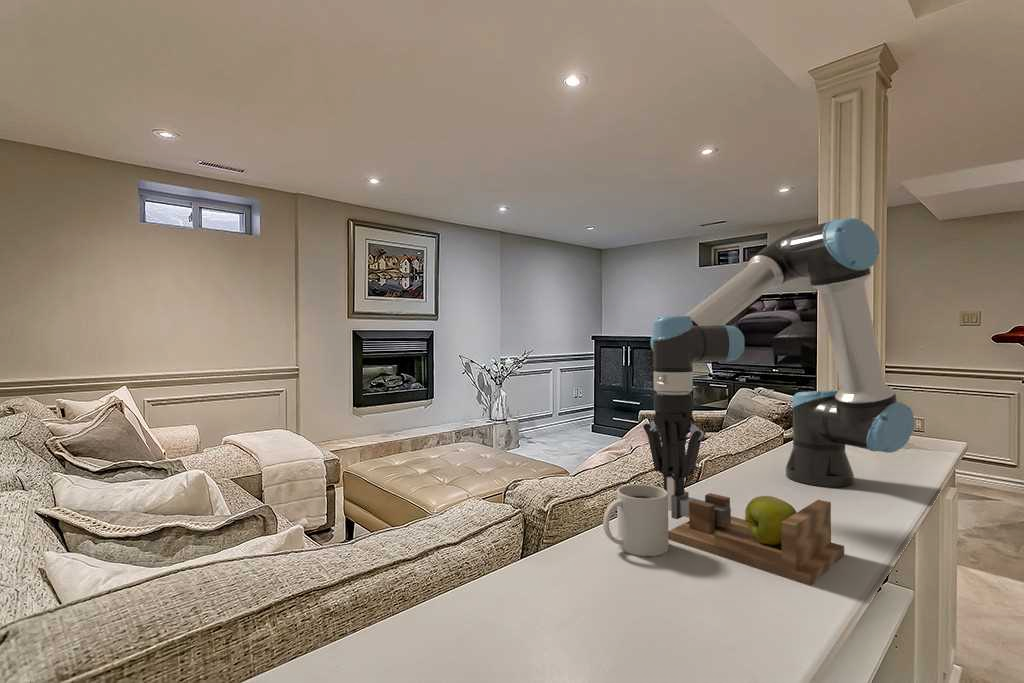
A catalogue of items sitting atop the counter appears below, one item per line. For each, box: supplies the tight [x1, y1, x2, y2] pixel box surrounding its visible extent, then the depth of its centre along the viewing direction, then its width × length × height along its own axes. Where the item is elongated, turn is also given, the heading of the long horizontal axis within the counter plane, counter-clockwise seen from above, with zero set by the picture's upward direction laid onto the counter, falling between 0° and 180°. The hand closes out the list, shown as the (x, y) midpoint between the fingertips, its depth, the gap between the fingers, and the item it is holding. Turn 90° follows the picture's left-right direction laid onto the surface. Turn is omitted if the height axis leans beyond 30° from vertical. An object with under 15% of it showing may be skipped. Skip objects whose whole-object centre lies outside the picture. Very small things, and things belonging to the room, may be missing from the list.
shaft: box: [670, 491, 732, 527], centre depth 98 cm, size 4×10×4 cm, turn 41°
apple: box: [744, 495, 798, 545], centre depth 88 cm, size 8×9×8 cm
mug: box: [602, 483, 670, 557], centre depth 91 cm, size 11×10×10 cm
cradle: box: [668, 492, 845, 586], centre depth 91 cm, size 16×24×8 cm, turn 41°
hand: (674, 508), depth 102 cm, fingers closed
